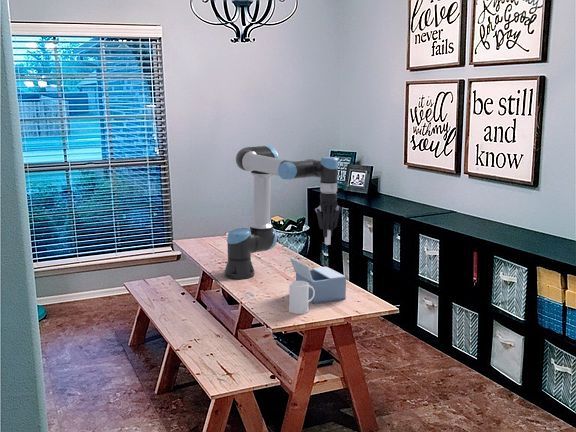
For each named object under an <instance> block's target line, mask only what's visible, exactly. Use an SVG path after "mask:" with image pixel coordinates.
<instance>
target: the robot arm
mask: <svg viewBox="0 0 576 432" xmlns="http://www.w3.org/2000/svg"><path fill="white" fill-rule="evenodd" d="M338 161H339V160H338V158H337V157H334V156H322V157H321V158H320V160H317V159H311V158H310V159H308V158H307V159H305V160H297V161H295V160H294V161H291V160H288V159H287V160H286V159H282V158H280V156H279V153H278V151H277V150H276V148H274V147H273V146H270V145H269V146H268V145H261V146H260V145H258V146H246V147H243V148H241V149H240V150H238V152H237V153H236V155H235V164H236V166H237V167H238V169H240V170H241V171H247V172H250V174H251V175H252V176H253V203H252V204H253V205H252V206H253V209H252V211H253V214H252V218H253V219H252V223H251V224H250V225H249V228H247V227H240V228H235V229H232V230H230V231H229V232H228V233H227V239H226V242H227V262H226V265H225V268H224V277H225V278H227V279H232V280H243V279H244V280H246V279H250V278H253V277H255V269H254V266H253V262H252V257H251V256H252V254H255V253H260V252H267V251H269V250H272V249H273V248H274V247H276V244H277V242H278V234H277V233H276V232H277V231H276V229H275V228H273V224H272V223H271V194H272V193H271V191H272V190H271V189H272V185H271V184H272V182H271V181H272V176H273V175H275V176H279V177H280V178H281V179H282V180H294V179H305V178H320V183H319V184H320V185H319V186H320V188H319V191H320V192H319V200H320V202H319V205H318V207H314V211H315V213H316V216H317V217H316V218H317V221H318V226H319V227H318V228H319V229H321V230H323V232H322V233H323V235H322V236H323V237H324V244H325V245H328V246H329V245H330V246H331V241H332V240H331V237H333V231H334V229H337V226H338V222H339V218H340V213H341V211H342V209H343V207H342V206H339V205H338V201H337V200H338V193H337V192H338V177H339V175H338V171H339V164H338V163H339V162H338Z"/></svg>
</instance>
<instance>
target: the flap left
mask: <svg viewBox="0 0 576 432" xmlns="http://www.w3.org/2000/svg"><path fill="white" fill-rule="evenodd" d="M289 259H290V262H291V265H292V268H293V271H294V272H295V274H296V273H298V274H299V275H301V276H303V277H304V278H306V279H308V280H310V281H311V282H314V281H313V279H312V276H311V273H310V270H311V269H310V268H309V266H308V265H306V264H304V263H303V262H301V261H299V260H298V259H296V258H294V257H291V256H290V257H289Z"/></svg>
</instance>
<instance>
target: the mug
mask: <svg viewBox="0 0 576 432" xmlns="http://www.w3.org/2000/svg"><path fill="white" fill-rule="evenodd" d="M288 285H289V287H288V289H289V292H288V293H289V295H288V299H289V300H288V312H289V313H290V314H294V315H304V314H307V313H309V311H310V308H309V303H311V301H312V300H313V298H314V295H315V291H314V288H313V287H312V286H311V285H309V283H308V282H305V281H296V280H292V281H290V282H289V284H288ZM309 287H310V288H312V289H313V297H312V298H311V299H310V300H308V291H309Z"/></svg>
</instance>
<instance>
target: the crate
mask: <svg viewBox="0 0 576 432" xmlns="http://www.w3.org/2000/svg"><path fill="white" fill-rule="evenodd" d="M309 270H310V273H311V276H312V279H313V281H314V282H311V281H310V280H308V279H306V278H304V277H303V276H301V275H299V274H298V273H296V272H295V281H305V282H308V283H309V285H311V286H312V287H313V288H314V291H315V295H314V298H313V300H312V301H311V302H310V303H311V304H313V305H315V304H316V305H317V304H323V303H329V302H336V301H343V300H346V295H347V294H346V293H347V291H346V290H347V277H346V276H345V278H338V279H329V278H327V277H325V276H323V275H322V274H320V273H318V272H316V271H314V270H312V269H309ZM312 297H313V289H312V288H310V287H309V291H308V300H310V299H311V298H312Z"/></svg>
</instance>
